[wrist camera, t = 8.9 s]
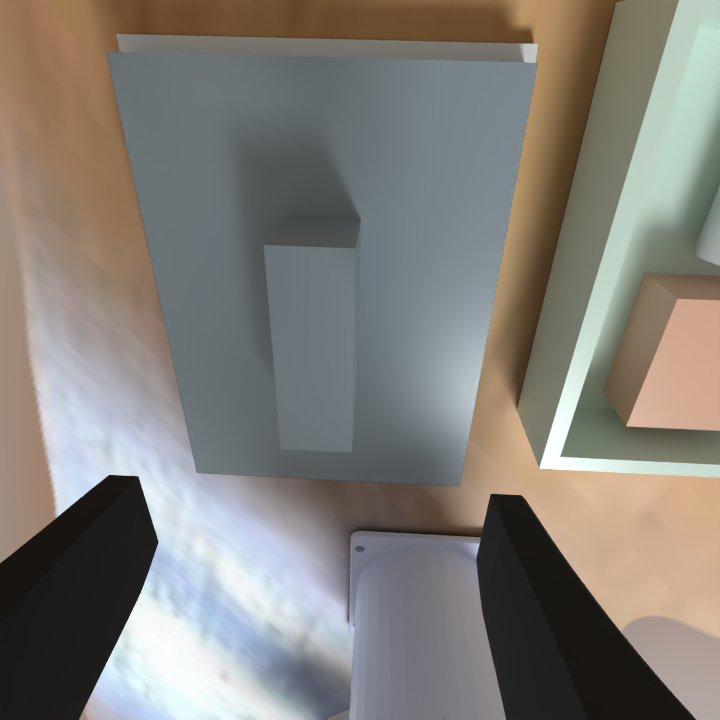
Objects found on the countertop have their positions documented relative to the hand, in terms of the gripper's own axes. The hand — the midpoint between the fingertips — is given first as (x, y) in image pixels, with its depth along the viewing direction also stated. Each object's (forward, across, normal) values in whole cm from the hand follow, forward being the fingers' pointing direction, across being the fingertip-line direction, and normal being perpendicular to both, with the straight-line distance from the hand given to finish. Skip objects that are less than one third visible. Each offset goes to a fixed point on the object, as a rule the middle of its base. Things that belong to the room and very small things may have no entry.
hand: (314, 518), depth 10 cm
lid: (+9, +1, -1) cm, 9 cm away
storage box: (+10, -12, -3) cm, 16 cm away
